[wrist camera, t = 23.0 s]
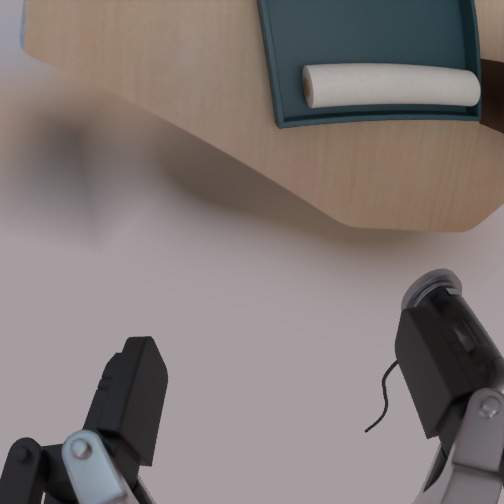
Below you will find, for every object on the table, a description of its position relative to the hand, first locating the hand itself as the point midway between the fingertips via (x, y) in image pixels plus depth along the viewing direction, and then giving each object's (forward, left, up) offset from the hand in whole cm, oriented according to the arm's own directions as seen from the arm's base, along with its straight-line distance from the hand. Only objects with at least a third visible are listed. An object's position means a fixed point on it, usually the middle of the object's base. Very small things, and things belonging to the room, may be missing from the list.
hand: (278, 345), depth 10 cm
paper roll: (+5, -17, -27) cm, 32 cm away
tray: (+12, -16, -28) cm, 34 cm away
